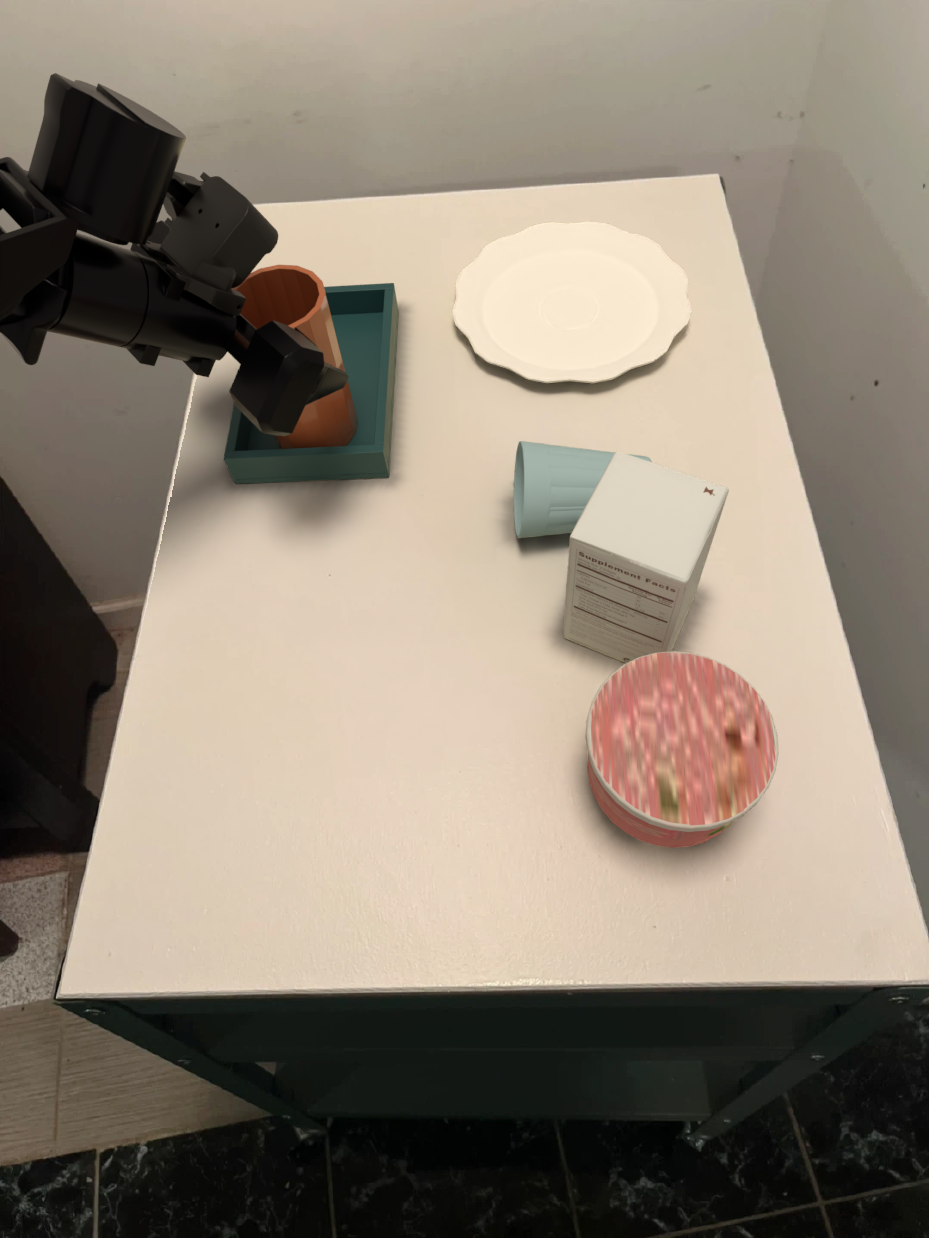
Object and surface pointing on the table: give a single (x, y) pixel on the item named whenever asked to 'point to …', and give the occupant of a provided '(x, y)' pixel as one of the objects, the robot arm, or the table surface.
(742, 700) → the container
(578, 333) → the plate
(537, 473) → the cup
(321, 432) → the tumbler
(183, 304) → the robot arm
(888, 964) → the table surface
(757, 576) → the table surface
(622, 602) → the white packaging box
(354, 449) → the tray
